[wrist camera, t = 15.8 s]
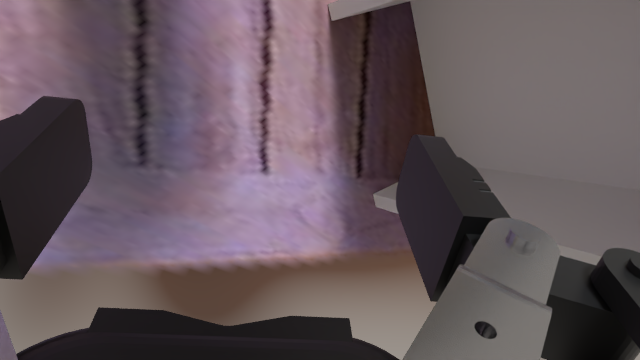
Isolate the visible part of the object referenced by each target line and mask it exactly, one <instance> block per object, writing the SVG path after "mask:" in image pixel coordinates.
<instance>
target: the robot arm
mask: <svg viewBox="0 0 640 360" xmlns="http://www.w3.org/2000/svg"><path fill="white" fill-rule="evenodd" d="M91 171H92V156H91V149H90V142H89V135H88V128H87V121H86V113H85V108H84V105H83V103H82V102H81V101H80V100H78V99H68V98H59V97H49V96H43V97H41V98H40V99H38V100H37V101H36V102H35V103H34V104H32V105H31V106H30V107H29V108H28V109H26V110H25V111H24V112H23V113H22V114H16V115H14V116H11V117H9V118H6V119H4V120H1V121H0V278H3V279H23V278H24V277H25V275H26V274H27V272H28V271H29V269H30V268H31V266H32V265H33V263H34V262H35V261H36V259H37V258H38V256H39V255H40V253H41V252H42V250H43V249H44V247H45V246H46V244H47V243H48V241H49V240H50V239H51V237H52V236H53V234H54V233H55V231H56V230H57V228H58V227H59V225H60V224H61V222H62V221H63V219H64V218H65V217H66V215H67V214H68V212H69V211H70V209H71V208H72V206H73V205H74V203H75V202H76V200H77V199H78V197H79V196H80V195H81V193H82V192H83V190H84V189H85V187H86V186H87V184H88V182H89V180H90V176H91ZM396 207H397V211H398V213H399V216H400V219H401V222H402V224H403V227H404V230H405V233H406V235H407V238H408V241H409V243H410V246H411V249H412V252H413V254H414V257H415V260H416V262H417V265H418V268H419V271H420V273H421V276H422V279H423V282H424V284H425V287H426V290H427V293H428V295H429V298H430V301H436V302H437V303H436V305H435V306H434V308H433V310H432V312H431V313H430V315H429V317H428V318H427V320H426V321H425V323H424V325H423V326H422V328H421V330H420V331H419V333H418V335H417V336H416V338H415V340H414V341H413V343H412V345H411V347H410V348H409V350H408V351H407V353H406V355H405V356H404V358H403V360H540V358H544V359H547V360H634V359H635V358H636V356H637V355H638V354H639V353H640V253H639V252H636V251H633V250H629V249H624V248H611V249H608V250H606V251H605V252H604V254H603V255H602V257H601V259H600V260H599V262H598V263H597V265H593V264H589V263H586V262H582V261H579V260H575V259H571V258H568V257H564V256H561V255H560V249H559V247H558V245H557V243H556V242H555V241H554V240H553V238H552V237H551V236H549V235H548V234H547V233H546V232H544V231H543V230H541V229H540V228H538V227H536V226H534V225H532V224H530V223H527V222H524V221H521V220H518V219H513V218H511V217H510V216H509V214H508V213H507V211H506V210H505V208H504V207H503V206H502V204H501V203H500V201H499V200H498V199H497V197H496V196H495V194H494V193H493V192H491V189H490V187H489V186H488V185H487V183H486V182H484V179H483V178H482V176H481V175H480V173H479V172H478V171H477V169H476V168H475V167H473V166H472V165H471V164H469V163H468V162H467V161H465V160H464V159H463V158H461V157H457V156H456V155H455V153H454V152H453V150H452V149H451V147H450V146H449V144H448V143H447V141H446V140H445V138H443V137H436V136H427V135H417V134H415V135H413V136H412V138H411V140H410V142H409V145H408V149H407V152H406V156H405V160H404V163H403V167H402V170H401V174H400V178H399V181H398V185H397V190H396ZM0 360H399V359H397V358H396V357H394V356H393V355H391V354H390V353H388V352H387V351H385V350H383V349H381V348H379V347H377V346H375V345H372V344H370V343H367V342H365V341H362V340H359V339H355V338H352V333H351V327H350V320H349V318H328V317H304V316H288V317H282V318H276V319H270V320H264V321H258V322H252V323H246V324H240V325H234V326H223V325H218V324H214V323H210V322H206V321H203V320H199V319H195V318H191V317H187V316H183V315H179V314H175V313H172V312H167V311H164V310H143V309H142V310H141V309H119V308H98V310H97V312H96V314H95V316H94V319H93V321H92V323H91V325H90V327H89V328H86V329H81V330H76V331H73V332H68V333H65V334H62V335H58V336H56V337H53V338H50V339H47V340H44V341H42V342H40V343H38V344H35V345H33V346H31V347H29V348H27V349H25V350H23V351H21V352H19V353H17V354H16V352H15V350H14V347H13V344H12V341H11V338H10V336H9V333H8V330H7V327H6V325H5V322H4V319H3V316H2V313H1V311H0Z"/></svg>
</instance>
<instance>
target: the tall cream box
mask: <svg viewBox="0 0 640 360" xmlns="http://www.w3.org/2000/svg"><path fill="white" fill-rule="evenodd" d="M409 1H410V3H411V9H412V14H413V19H414V25H415V30H416V35H417V41H418V46H419V52H420V57H421V62H422V68H423V73H424V79H425V84H426V89H427V95H428V100H429V105H430V111H431V116H432V122H433V127H434V132H435V136H436V137H443V138H445V140H446V141H447V143H448V144H449V146H450V147H451V149H452V150H453V152H454V153H455V155H456V156H457V157H461V158H463V159H464V160H465V161H467V162H468V163H469V164H471V165H472V166H473V167H475V168H476V169H477V171H478V172H479V173H480V175H481V176H482V178H483V179H484V182H486V183H487V185H488V186H489V187H490V189H491V192H493V193H494V194H495V196H496V197H497V199H498V200H499V201H500V203H501V204H502V206H503V207H504V208H505V210H506V211H507V213H508V214H509V216H510V217H511V218H513V219H518V220H521V221H524V222H527V223H530V224H532V225H534V226H536V227H538V228H540V229H541V230H543V231H544V232H546V233H547V234H548V235H549V236H551V237H552V238H553V240H554V241H555V242H556V243H557V245H558V247H559V249H560V255H561V256H564V257H568V258H571V259H575V260H579V261H582V262H586V263H589V264H593V265H597V263H598V262H599V260H600V259H601V257H602V255H603V254H604V252H605V251H606V250H608V249H611V248H624V249H629V250H633V251H636V252H639V253H640V0H338V1H335V2H333V3H330V4H328V7H329V11H330V16H331V20H332V21H334V20H338V19H342V18H346V17H350V16H354V15H358V14H362V13H366V12H370V11H374V10H378V9H382V8H386V7H389V6H393V5H397V4H401V3H405V2H409ZM397 185H398V182H397V183H395V184H393V185H391V186H389V187H387V188H384V189H382V190H380V191H378V192H376V193H374V194H373V197H374V201H375V206H376V207H377V208H381V209H384V210H387V211H390V212H394V213H397V214H399V213H398V211H397V207H396V190H397Z"/></svg>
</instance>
